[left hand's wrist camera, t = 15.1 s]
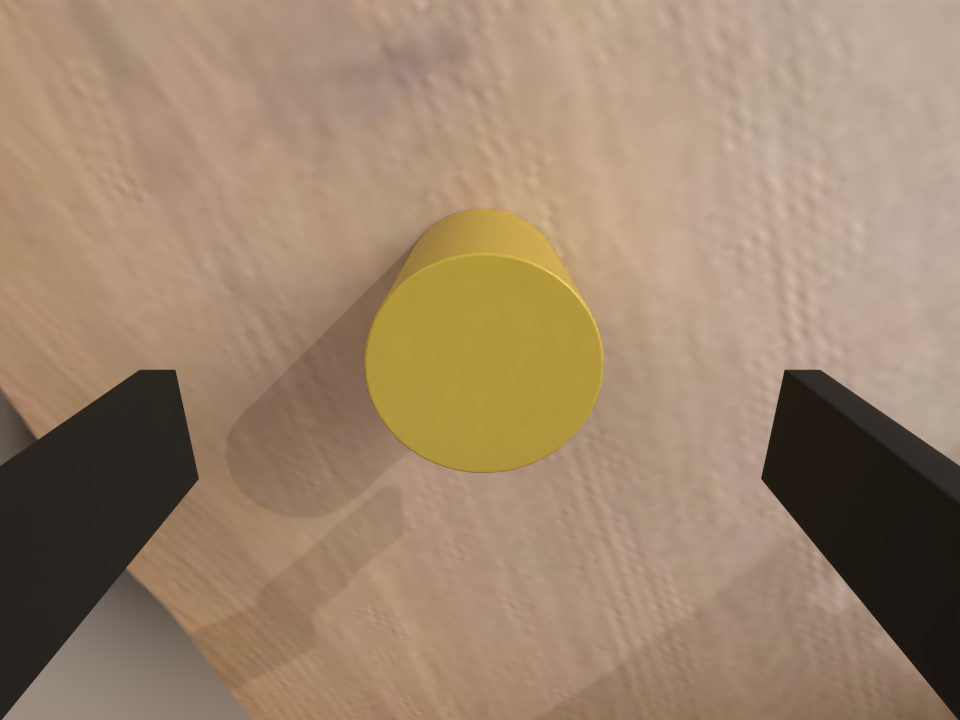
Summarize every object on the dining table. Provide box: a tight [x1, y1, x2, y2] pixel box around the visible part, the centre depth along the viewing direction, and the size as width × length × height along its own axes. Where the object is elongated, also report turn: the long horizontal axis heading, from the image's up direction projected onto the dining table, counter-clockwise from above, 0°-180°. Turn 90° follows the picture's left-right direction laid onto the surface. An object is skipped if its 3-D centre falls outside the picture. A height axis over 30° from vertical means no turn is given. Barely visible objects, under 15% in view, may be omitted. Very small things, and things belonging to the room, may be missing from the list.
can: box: [364, 209, 603, 473], centre depth 18 cm, size 6×6×8 cm
